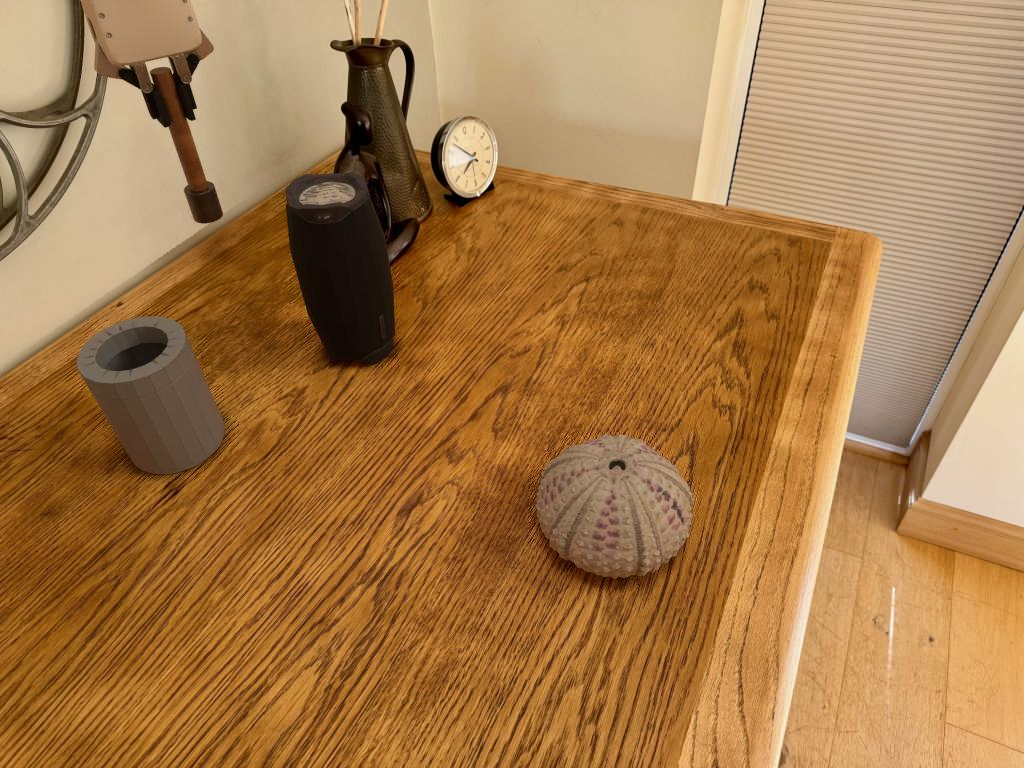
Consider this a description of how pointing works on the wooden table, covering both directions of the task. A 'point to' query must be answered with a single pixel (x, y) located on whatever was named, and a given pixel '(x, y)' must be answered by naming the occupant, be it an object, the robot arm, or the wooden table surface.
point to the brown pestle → (187, 151)
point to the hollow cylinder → (153, 393)
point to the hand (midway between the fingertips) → (176, 118)
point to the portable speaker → (342, 265)
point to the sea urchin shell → (614, 507)
